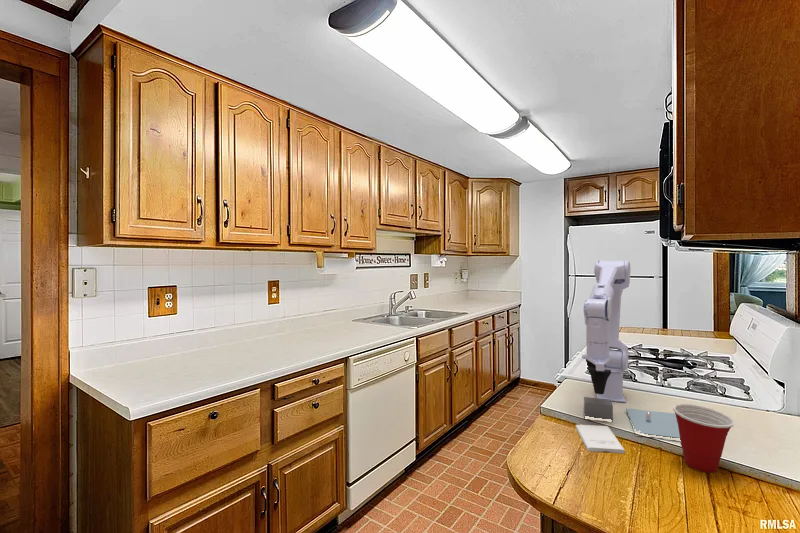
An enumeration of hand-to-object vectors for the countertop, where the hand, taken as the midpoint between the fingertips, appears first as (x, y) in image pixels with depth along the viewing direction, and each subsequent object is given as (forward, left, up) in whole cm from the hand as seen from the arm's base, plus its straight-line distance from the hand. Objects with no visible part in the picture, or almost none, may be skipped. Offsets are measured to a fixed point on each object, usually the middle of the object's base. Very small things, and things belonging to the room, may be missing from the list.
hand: (597, 388), depth 113 cm
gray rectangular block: (0, 0, -8) cm, 8 cm away
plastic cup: (+20, +19, -9) cm, 29 cm away
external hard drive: (+14, -1, -9) cm, 17 cm away
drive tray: (+1, +17, -8) cm, 19 cm away
